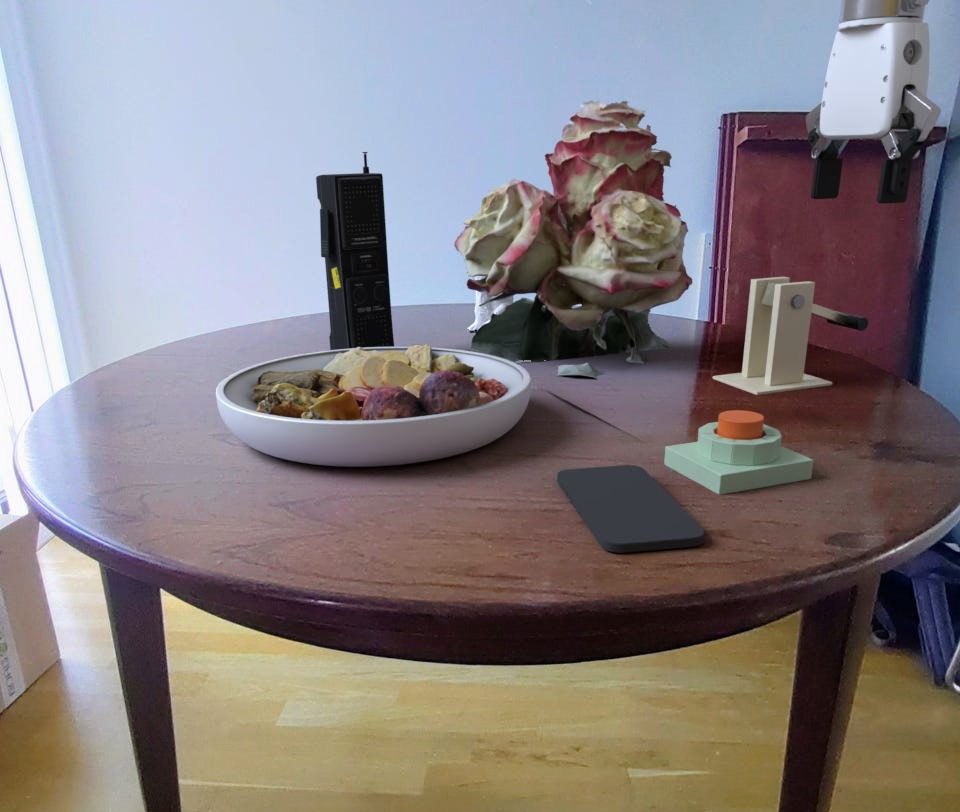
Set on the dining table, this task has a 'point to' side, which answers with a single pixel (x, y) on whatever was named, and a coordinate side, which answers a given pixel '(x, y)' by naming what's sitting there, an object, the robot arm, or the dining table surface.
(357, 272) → the portable radio
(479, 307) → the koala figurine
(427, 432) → the bowl
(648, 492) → the phone
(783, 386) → the bracket
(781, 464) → the button block
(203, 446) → the dining table surface
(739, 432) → the button
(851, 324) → the lever
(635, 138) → the rose bouquet
